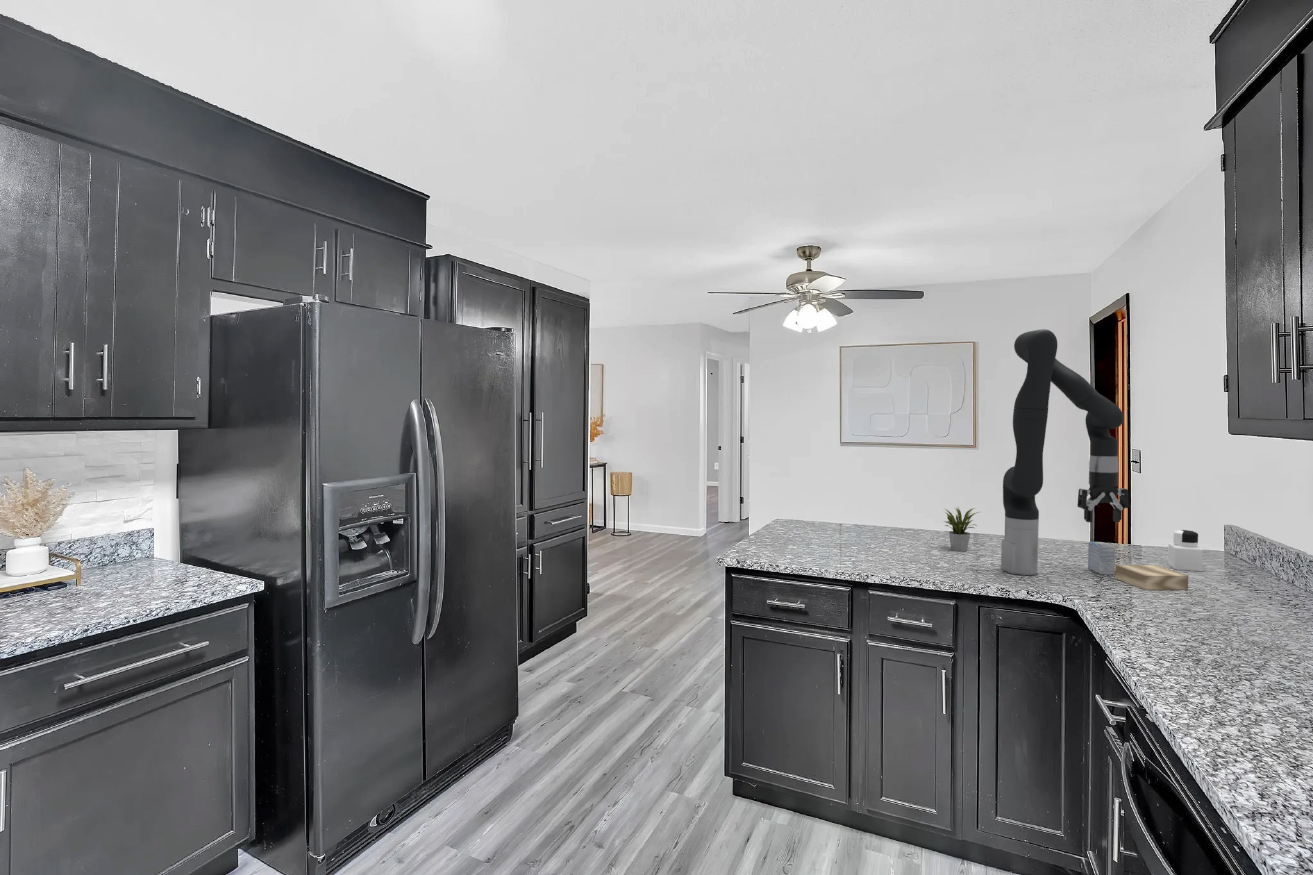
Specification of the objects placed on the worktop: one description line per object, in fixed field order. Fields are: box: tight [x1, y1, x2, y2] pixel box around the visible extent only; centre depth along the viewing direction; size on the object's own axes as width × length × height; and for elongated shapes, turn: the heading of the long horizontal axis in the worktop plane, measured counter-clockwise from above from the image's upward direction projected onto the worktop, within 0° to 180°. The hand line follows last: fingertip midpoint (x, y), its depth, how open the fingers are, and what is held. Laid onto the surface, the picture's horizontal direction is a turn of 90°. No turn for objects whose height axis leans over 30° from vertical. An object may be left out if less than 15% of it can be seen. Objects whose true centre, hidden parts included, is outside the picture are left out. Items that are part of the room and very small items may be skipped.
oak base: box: [1115, 564, 1189, 591], centre depth 188 cm, size 12×12×4 cm
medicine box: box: [1087, 541, 1116, 576], centre depth 202 cm, size 8×4×9 cm, turn 168°
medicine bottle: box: [1167, 529, 1204, 572], centre depth 205 cm, size 7×7×12 cm
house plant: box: [943, 506, 980, 552], centre depth 233 cm, size 14×14×16 cm
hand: (1102, 521), depth 201 cm, fingers open, 8 cm apart
